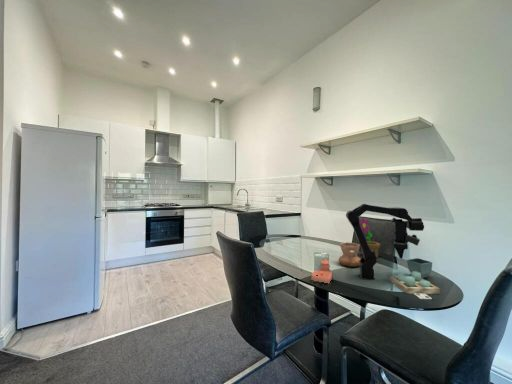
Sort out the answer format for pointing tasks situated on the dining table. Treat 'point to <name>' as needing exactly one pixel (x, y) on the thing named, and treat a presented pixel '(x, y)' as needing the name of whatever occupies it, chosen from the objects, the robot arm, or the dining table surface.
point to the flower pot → (420, 266)
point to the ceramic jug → (349, 254)
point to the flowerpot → (371, 244)
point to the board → (417, 288)
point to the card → (422, 296)
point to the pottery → (323, 273)
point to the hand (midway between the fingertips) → (401, 258)
